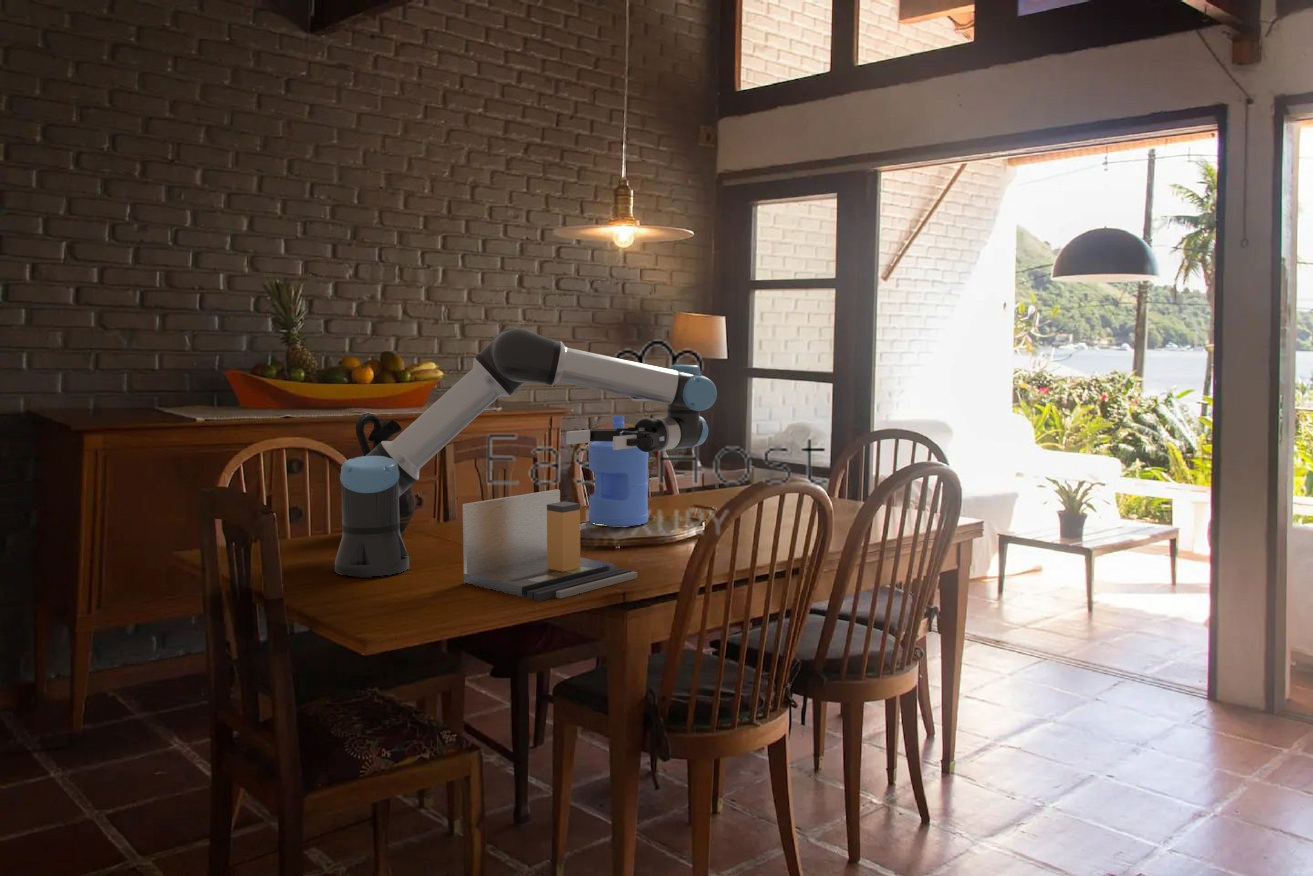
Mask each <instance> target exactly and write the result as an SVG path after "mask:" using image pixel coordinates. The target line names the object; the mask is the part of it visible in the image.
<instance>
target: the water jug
mask: <svg viewBox="0 0 1313 876" xmlns="http://www.w3.org/2000/svg"><path fill="white" fill-rule="evenodd" d="M611 418H612V429H615V428H625V416H623V415H617V416H616V415H614V416H611ZM622 432H624V431H622ZM648 460H649V452H643V451H641V450H640V449H639V448H638V447H637V446H636V448H629V449H620V450H613V441H591V442H590V443H589V444H588V470H590V471H591V472H593V473H594V492H593V493H591V494H590V495H589V496H588V497H589V498H588V500H589V501H588V502H589V503H588V508H589V509H588V511H589V512H588V521H589V523H590V522H591V523H590V524H592V523H595V524H604V525H607V526H634V525H638V524H643V525H645V524H647V522H648V521H649V512H648V511H649V510H648V509H649V508H648V502H649V501H648V500H649V499H648V498H649V497H648V496H649V495H648V492H649V478H648V476H649V474H648V473H649V471H648V466H649V463H648V462H649V461H648ZM634 527H635V526H634Z"/></svg>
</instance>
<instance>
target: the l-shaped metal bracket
mask: <svg viewBox="0 0 1313 876" xmlns="http://www.w3.org/2000/svg"><path fill="white" fill-rule="evenodd" d="M558 502H561V490H560V489H558V488H557V489H550V490H544V491H539V492H538V491H537V492H531V493H530V492H529V493H525V494H519V495H511V496H504V497H500V498H493V499H488V500H487V499H486V500H480V501H475V502H467V503H462V535H463V536H462V537H463V539H462V543H463V546H462V548H463V549H462V550H463V552H462V553H463V554H462V555H463V584H465V583H468V584H467V585H469V584H474V585H477V586H476V587H478V586H479V587H478V588H482V587H486V588H487V589H486V588H485V589H486V590H490V589H493V590H492V591H494V590H496V591H495V592H498V591H502V592H504V594H507V593H510V594H509V595H511V594H512V595H511V596H515V595H517V596H516V597H519V598H524V597H527V591H530V590H534V589H538V588H542V587H546V586H550V585H554V584H558V583H562V582H566V581H570V580H574V579H578V578H582V577H586V576H590V575H594V574H598V573H602V572H606V571H610V570H614V569H616V568H615V564H616V563H611V562H606V561H602V560H596V559H591V558H585V557H581V556H580V568H576V569H572V570H568V571H564V572H562V571H557V570H552V569H548V568H547V504H552V503H558ZM502 592H501V593H502Z"/></svg>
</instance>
